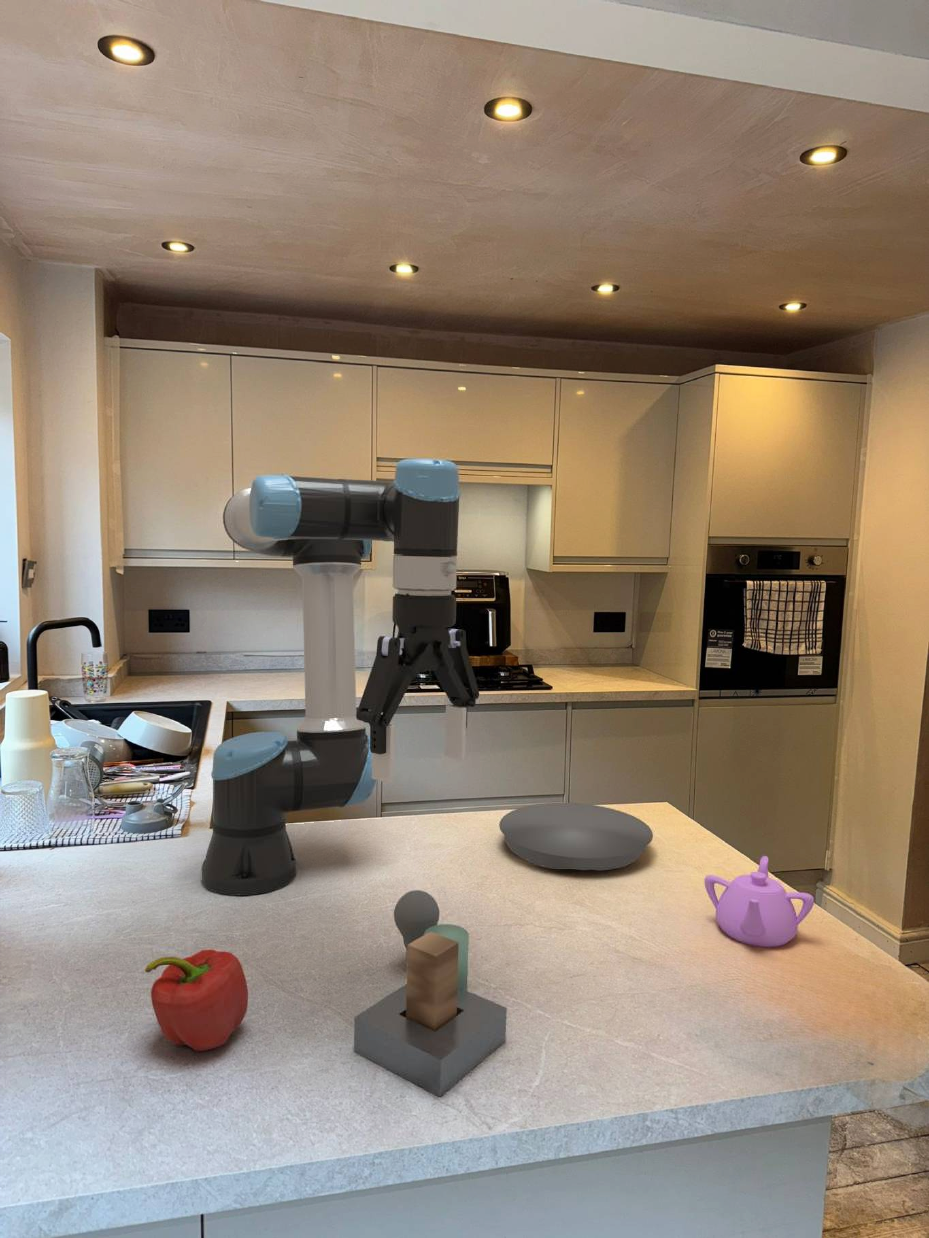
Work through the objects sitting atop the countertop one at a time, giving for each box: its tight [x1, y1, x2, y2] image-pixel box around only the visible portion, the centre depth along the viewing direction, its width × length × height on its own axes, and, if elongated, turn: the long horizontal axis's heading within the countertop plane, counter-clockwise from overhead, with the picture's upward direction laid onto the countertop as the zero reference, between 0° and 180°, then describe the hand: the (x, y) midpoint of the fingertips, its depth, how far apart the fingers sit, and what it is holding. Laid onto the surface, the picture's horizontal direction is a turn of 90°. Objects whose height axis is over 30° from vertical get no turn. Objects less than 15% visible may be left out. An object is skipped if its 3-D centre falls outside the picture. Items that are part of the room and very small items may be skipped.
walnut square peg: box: [406, 932, 459, 1032], centre depth 91 cm, size 4×4×12 cm
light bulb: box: [393, 889, 440, 964], centre depth 109 cm, size 6×6×10 cm
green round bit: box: [424, 923, 470, 991], centre depth 102 cm, size 6×6×8 cm
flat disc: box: [499, 802, 654, 872], centre depth 152 cm, size 28×28×4 cm
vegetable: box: [144, 949, 249, 1052], centre depth 92 cm, size 11×10×10 cm
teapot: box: [704, 855, 815, 948], centre depth 121 cm, size 12×14×9 cm
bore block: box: [353, 983, 508, 1098], centre depth 92 cm, size 12×12×4 cm
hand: (420, 768), depth 99 cm, fingers open, 13 cm apart
